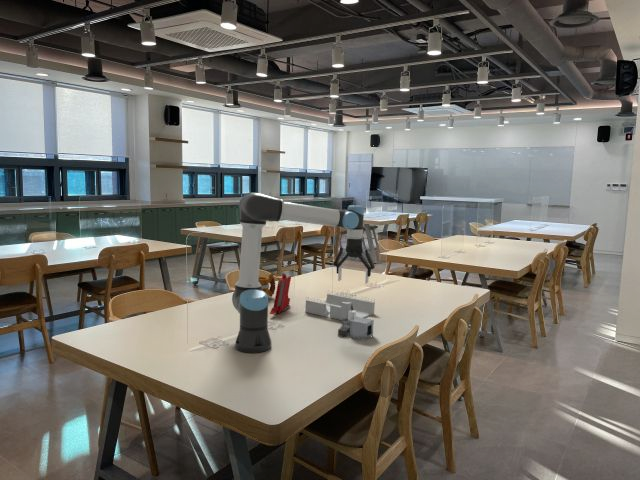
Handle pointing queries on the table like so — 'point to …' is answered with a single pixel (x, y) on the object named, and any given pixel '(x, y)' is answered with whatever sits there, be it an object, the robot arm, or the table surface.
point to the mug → (267, 285)
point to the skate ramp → (340, 307)
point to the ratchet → (347, 324)
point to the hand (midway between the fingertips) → (353, 281)
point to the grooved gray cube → (361, 328)
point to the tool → (282, 295)
